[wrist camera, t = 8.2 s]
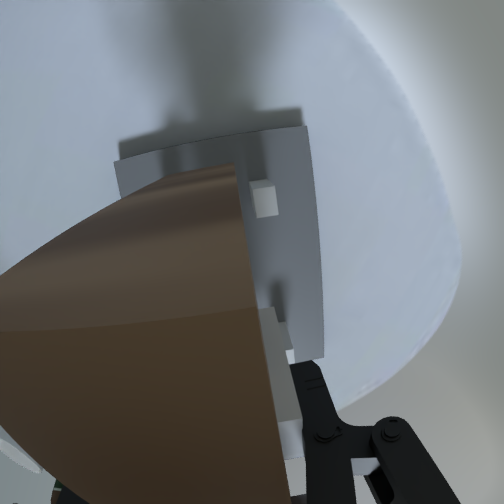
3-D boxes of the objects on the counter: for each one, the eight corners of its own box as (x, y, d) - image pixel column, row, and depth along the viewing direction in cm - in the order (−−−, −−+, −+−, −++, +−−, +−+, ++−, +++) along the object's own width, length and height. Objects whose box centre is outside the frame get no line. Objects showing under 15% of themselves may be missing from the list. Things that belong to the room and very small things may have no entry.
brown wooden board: (168, 174, 12) (-64, 331, 1) (251, 159, 12) (413, 273, 1) (232, 411, 18) (240, 569, 7) (286, 403, 18) (318, 559, 7)
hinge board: (119, 160, 18) (90, 166, 14) (302, 126, 18) (323, 121, 14) (182, 370, 25) (176, 407, 21) (320, 349, 25) (334, 384, 21)
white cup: (55, 394, 26) (26, 452, 17) (70, 428, 29) (50, 480, 20) (11, 376, 25) (-20, 425, 16) (28, 411, 28) (5, 457, 19)
